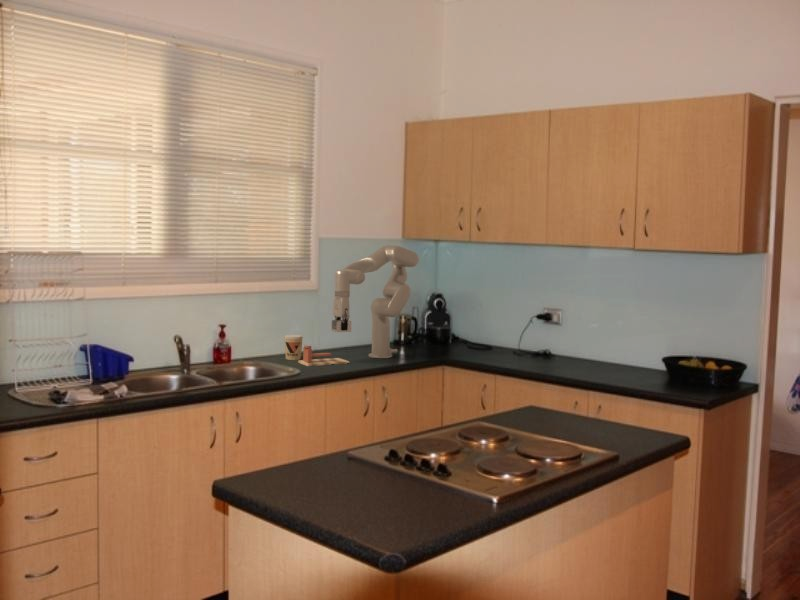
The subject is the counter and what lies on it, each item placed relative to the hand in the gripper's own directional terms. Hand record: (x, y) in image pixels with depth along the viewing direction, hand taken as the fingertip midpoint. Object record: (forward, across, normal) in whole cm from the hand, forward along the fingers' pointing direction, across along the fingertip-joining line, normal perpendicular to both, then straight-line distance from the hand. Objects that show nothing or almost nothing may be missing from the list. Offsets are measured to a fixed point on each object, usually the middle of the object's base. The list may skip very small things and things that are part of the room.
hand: (341, 329), depth 424 cm
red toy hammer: (+16, 0, -13) cm, 21 cm away
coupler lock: (+1, 0, 0) cm, 1 cm away
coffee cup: (+17, -17, -19) cm, 31 cm away
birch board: (+17, 0, -9) cm, 19 cm away
